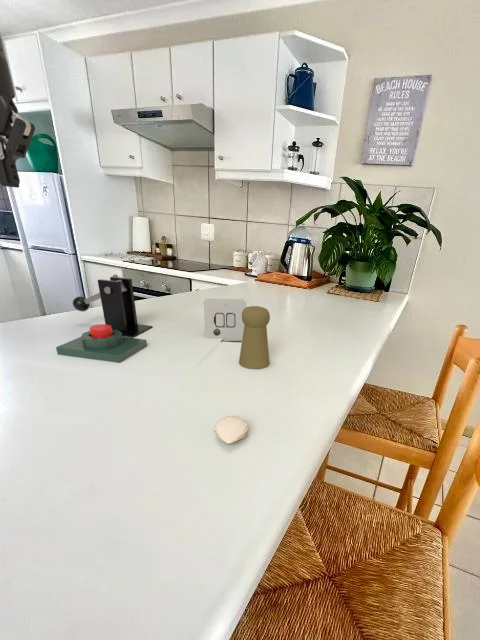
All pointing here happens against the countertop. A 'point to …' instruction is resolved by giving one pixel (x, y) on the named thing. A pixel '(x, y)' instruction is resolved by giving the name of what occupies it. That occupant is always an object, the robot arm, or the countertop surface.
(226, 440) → the seashell
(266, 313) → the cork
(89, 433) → the countertop surface
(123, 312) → the switch bracket
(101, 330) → the push button
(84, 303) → the switch lever
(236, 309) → the electrical switch
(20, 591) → the countertop surface
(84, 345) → the button block
